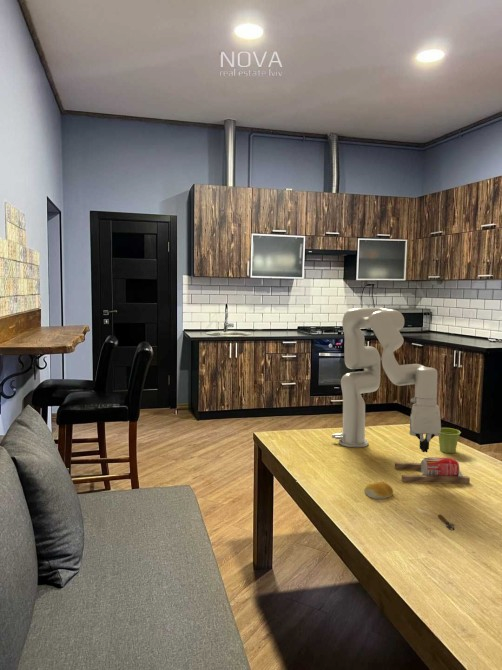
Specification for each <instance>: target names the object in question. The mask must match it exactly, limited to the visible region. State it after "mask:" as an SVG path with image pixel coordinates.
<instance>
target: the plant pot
mask: <svg viewBox="0 0 502 670" xmlns="http://www.w3.org/2000/svg"><path fill="white" fill-rule="evenodd" d="M461 433H462V432H461V431H460V430H459V429H457V428H456V429H455V428H451V427H441V431H440V435H439V436H438V443H439V450H440V452H442V453H445V454H450V453H451V454H454V453H457V452H456V451H457V445H458V440H459V437H460V435H461Z"/></svg>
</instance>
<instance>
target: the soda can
mask: <svg viewBox="0 0 502 670" xmlns="http://www.w3.org/2000/svg"><path fill="white" fill-rule="evenodd" d="M420 463H421V471H422V472H421V471H420V472H421V475H429V476H459V472H461V471H460V464H459V461H458V460H457V459H453V458H452V457H433V456H432V457H424V458H423V459H422V460H421V461H420Z"/></svg>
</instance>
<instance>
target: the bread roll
mask: <svg viewBox="0 0 502 670" xmlns="http://www.w3.org/2000/svg"><path fill="white" fill-rule="evenodd" d="M364 494H365V495H366V496H368V497H370V498H371V499H375V500H384V499H387V498H391V497H392V496H393V495H394V492H393V488H392V486H391V485H390V484H388V483H386V482H382V481H381V482H380V481H379V482H374V483H369V484H368V485H366V486H365V488H364Z"/></svg>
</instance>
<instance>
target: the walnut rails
mask: <svg viewBox="0 0 502 670" xmlns="http://www.w3.org/2000/svg"><path fill="white" fill-rule="evenodd" d="M394 469H395V470H413V471H414V470H415V471H416V470H417V471H418V470H419V471H420V469H421V462H394ZM401 482H402V483H423V484H424V483H426V484H427V483H429V484H430V483H431V484H463V485H464V484H471V483H470V482H471V481H470V477H469V476H468V475H467V476H464V475H463V476H429V475H423V474H418V475H417V474H402V475H401Z"/></svg>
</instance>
